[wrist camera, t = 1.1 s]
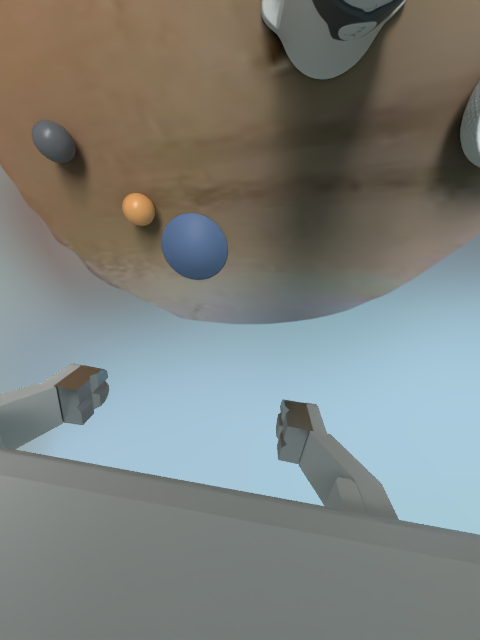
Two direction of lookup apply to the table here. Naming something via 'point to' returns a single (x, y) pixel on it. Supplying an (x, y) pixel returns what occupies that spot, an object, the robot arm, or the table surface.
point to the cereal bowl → (472, 128)
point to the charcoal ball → (53, 141)
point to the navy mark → (194, 246)
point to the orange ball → (138, 209)
